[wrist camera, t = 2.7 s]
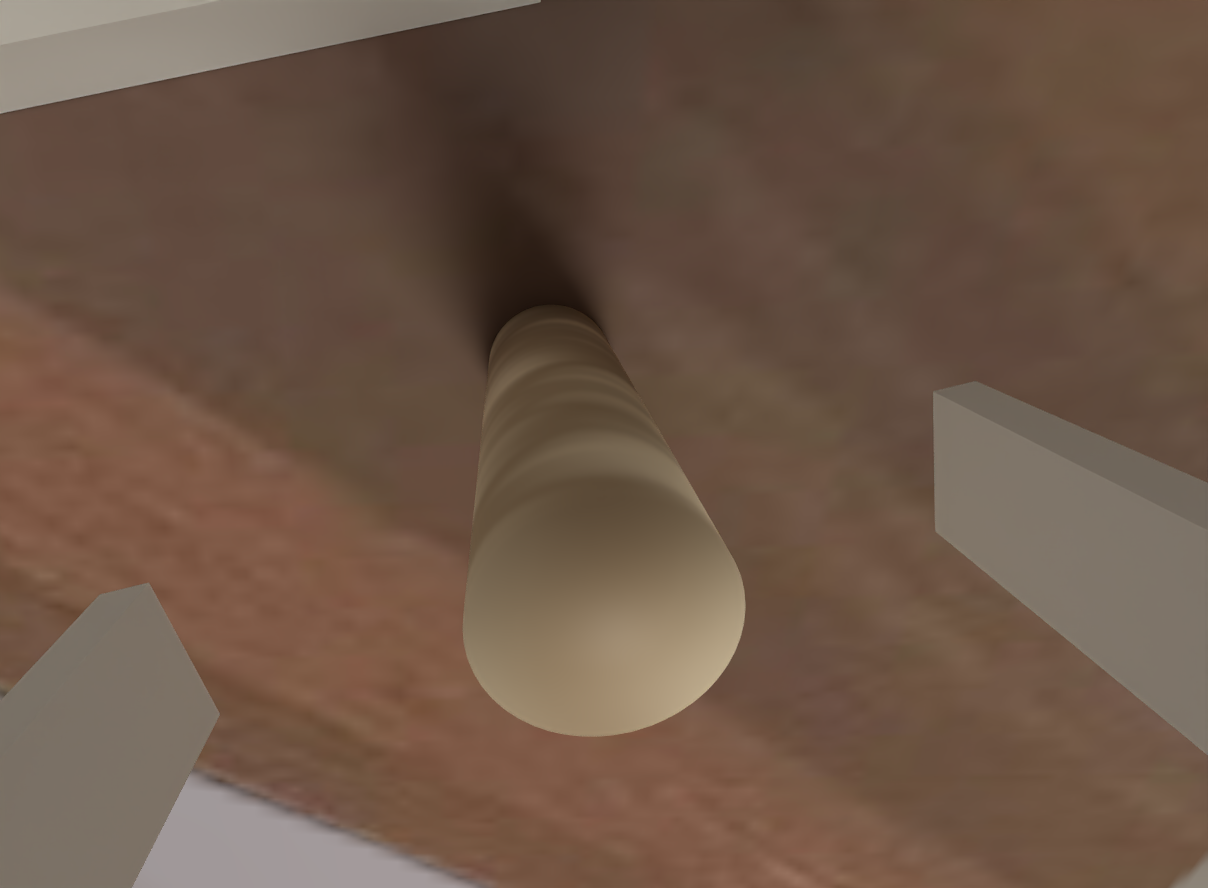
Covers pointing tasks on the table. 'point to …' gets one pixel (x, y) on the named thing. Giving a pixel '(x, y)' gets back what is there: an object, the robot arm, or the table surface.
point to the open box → (183, 37)
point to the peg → (588, 544)
